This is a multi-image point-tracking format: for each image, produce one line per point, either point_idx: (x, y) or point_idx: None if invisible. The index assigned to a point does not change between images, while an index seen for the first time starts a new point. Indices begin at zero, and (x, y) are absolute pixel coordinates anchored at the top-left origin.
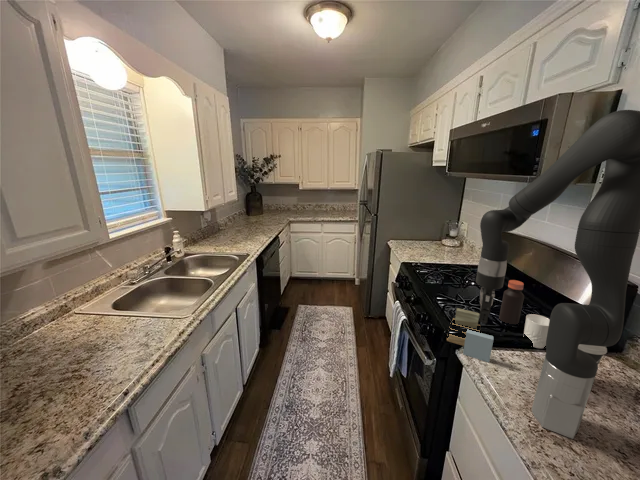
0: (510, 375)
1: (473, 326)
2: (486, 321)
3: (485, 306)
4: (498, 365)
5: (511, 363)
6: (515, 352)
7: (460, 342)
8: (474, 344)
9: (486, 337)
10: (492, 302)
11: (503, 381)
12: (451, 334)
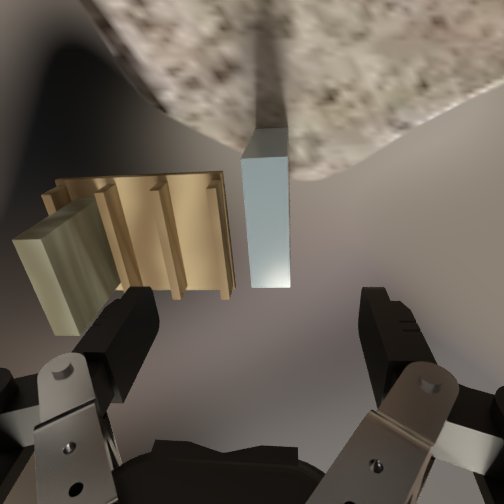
0: (336, 28)
1: (89, 223)
2: (384, 296)
3: (136, 328)
4: (286, 86)
5: (232, 26)
6: (118, 8)
7: (228, 247)
8: (289, 219)
9: (280, 194)
10: (407, 487)
11: (399, 59)
12: (220, 291)
